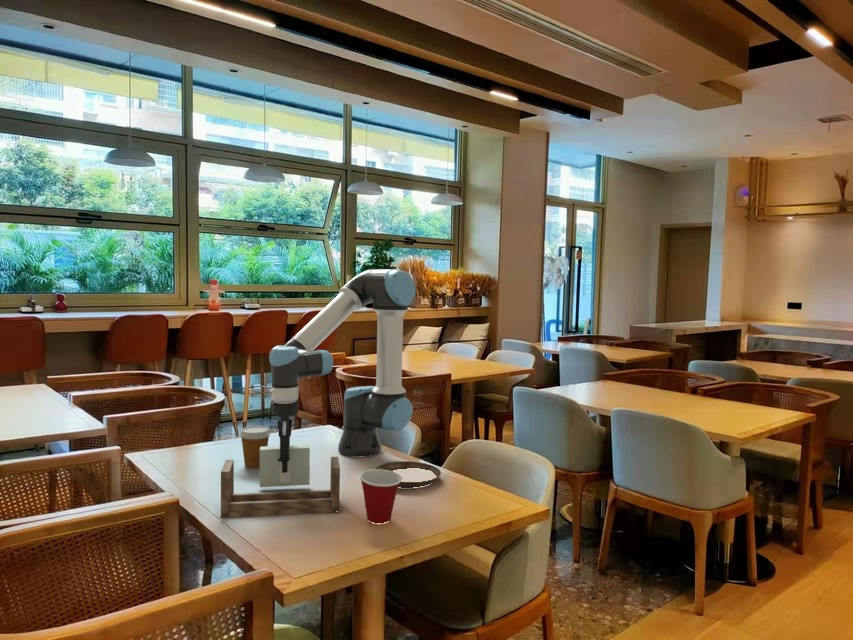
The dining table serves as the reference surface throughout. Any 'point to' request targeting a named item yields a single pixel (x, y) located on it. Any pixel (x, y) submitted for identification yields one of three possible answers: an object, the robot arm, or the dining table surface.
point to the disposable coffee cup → (253, 444)
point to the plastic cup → (379, 493)
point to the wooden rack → (278, 497)
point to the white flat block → (272, 466)
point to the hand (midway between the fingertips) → (285, 480)
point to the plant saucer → (409, 464)
